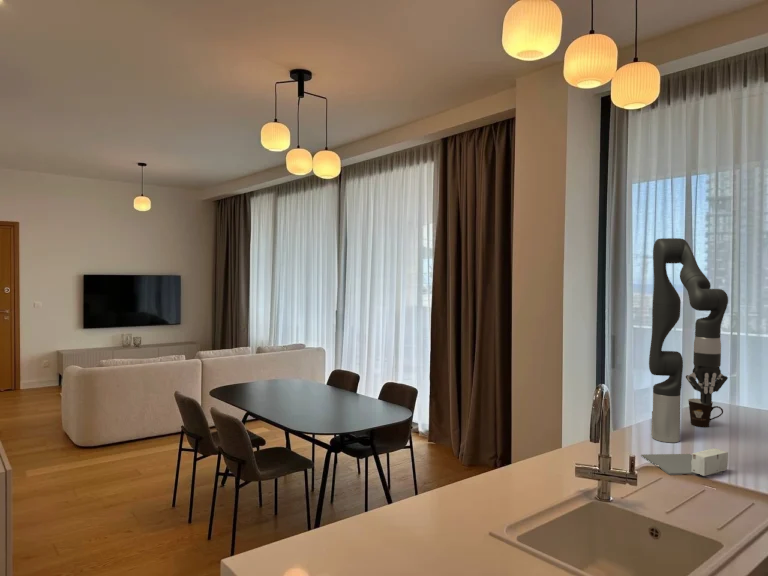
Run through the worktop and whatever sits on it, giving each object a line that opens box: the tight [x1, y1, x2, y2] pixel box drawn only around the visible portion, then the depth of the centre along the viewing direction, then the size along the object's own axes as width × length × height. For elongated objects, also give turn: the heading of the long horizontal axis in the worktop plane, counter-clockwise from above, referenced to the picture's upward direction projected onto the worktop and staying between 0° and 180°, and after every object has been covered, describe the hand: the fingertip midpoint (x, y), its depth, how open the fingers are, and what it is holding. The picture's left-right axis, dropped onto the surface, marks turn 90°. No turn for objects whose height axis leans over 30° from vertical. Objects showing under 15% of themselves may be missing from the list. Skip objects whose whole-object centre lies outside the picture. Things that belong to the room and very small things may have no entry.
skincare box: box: [691, 447, 729, 477], centre depth 170 cm, size 6×4×12 cm
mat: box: [640, 453, 723, 476], centre depth 178 cm, size 17×17×1 cm
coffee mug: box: [688, 397, 724, 428], centre depth 221 cm, size 12×9×10 cm
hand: (705, 404), depth 175 cm, fingers closed
